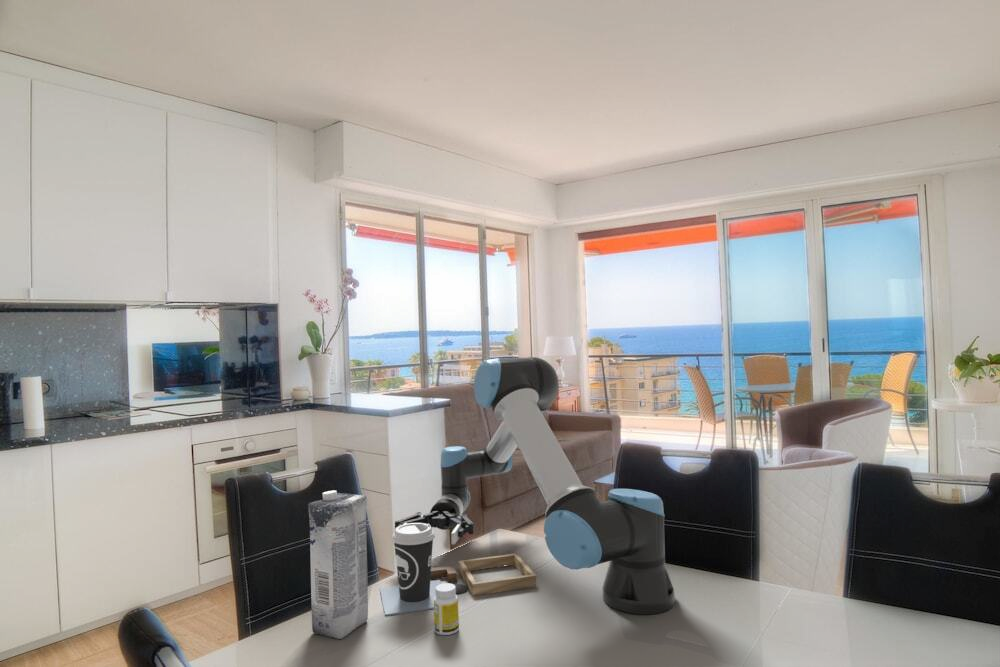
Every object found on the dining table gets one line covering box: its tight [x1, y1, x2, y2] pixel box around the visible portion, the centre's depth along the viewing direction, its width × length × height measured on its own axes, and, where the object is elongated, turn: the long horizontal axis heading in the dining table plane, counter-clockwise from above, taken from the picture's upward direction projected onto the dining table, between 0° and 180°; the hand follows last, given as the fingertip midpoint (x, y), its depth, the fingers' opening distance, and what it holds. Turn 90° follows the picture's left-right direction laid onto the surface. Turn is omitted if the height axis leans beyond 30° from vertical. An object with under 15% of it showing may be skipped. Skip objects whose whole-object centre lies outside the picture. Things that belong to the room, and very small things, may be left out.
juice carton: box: [307, 489, 369, 640], centre depth 120 cm, size 9×10×27 cm
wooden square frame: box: [458, 553, 537, 597], centre depth 142 cm, size 15×15×2 cm
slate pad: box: [379, 579, 443, 617], centre depth 133 cm, size 14×14×1 cm
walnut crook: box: [430, 564, 458, 583], centre depth 143 cm, size 5×8×2 cm, turn 104°
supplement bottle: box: [433, 582, 460, 636], centre depth 118 cm, size 5×5×8 cm
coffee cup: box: [391, 523, 436, 602], centre depth 133 cm, size 10×10×15 cm
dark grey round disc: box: [454, 583, 469, 595], centre depth 137 cm, size 5×5×1 cm
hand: (425, 538), depth 142 cm, fingers open, 13 cm apart
